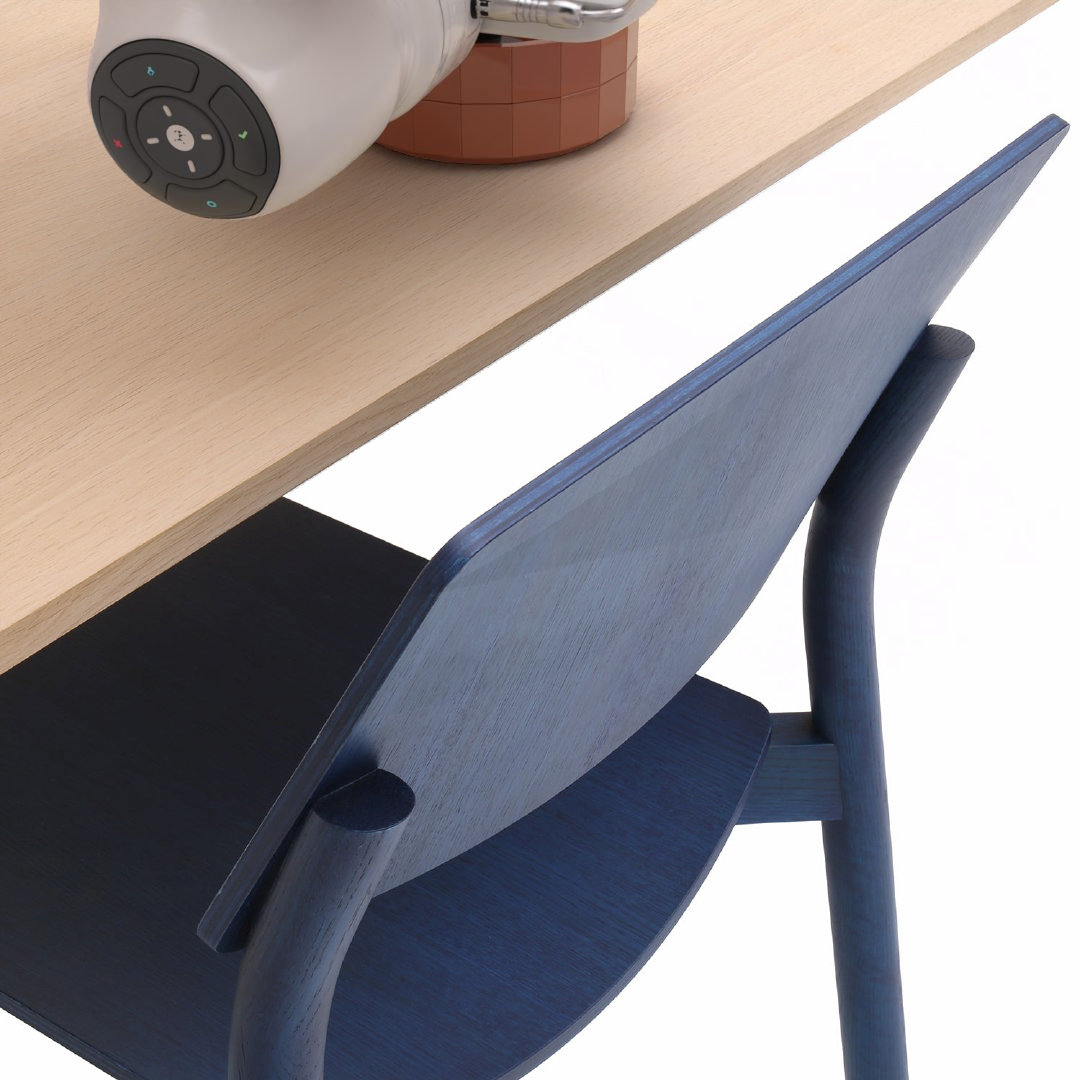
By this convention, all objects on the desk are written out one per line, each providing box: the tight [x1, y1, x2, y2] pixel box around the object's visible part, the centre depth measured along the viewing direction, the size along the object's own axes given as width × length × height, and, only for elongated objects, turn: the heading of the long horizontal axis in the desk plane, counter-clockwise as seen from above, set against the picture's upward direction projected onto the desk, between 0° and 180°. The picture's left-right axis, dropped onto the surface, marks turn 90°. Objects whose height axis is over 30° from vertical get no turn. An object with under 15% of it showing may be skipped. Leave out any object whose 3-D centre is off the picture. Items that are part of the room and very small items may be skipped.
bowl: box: [374, 18, 640, 165], centre depth 85 cm, size 15×15×6 cm
